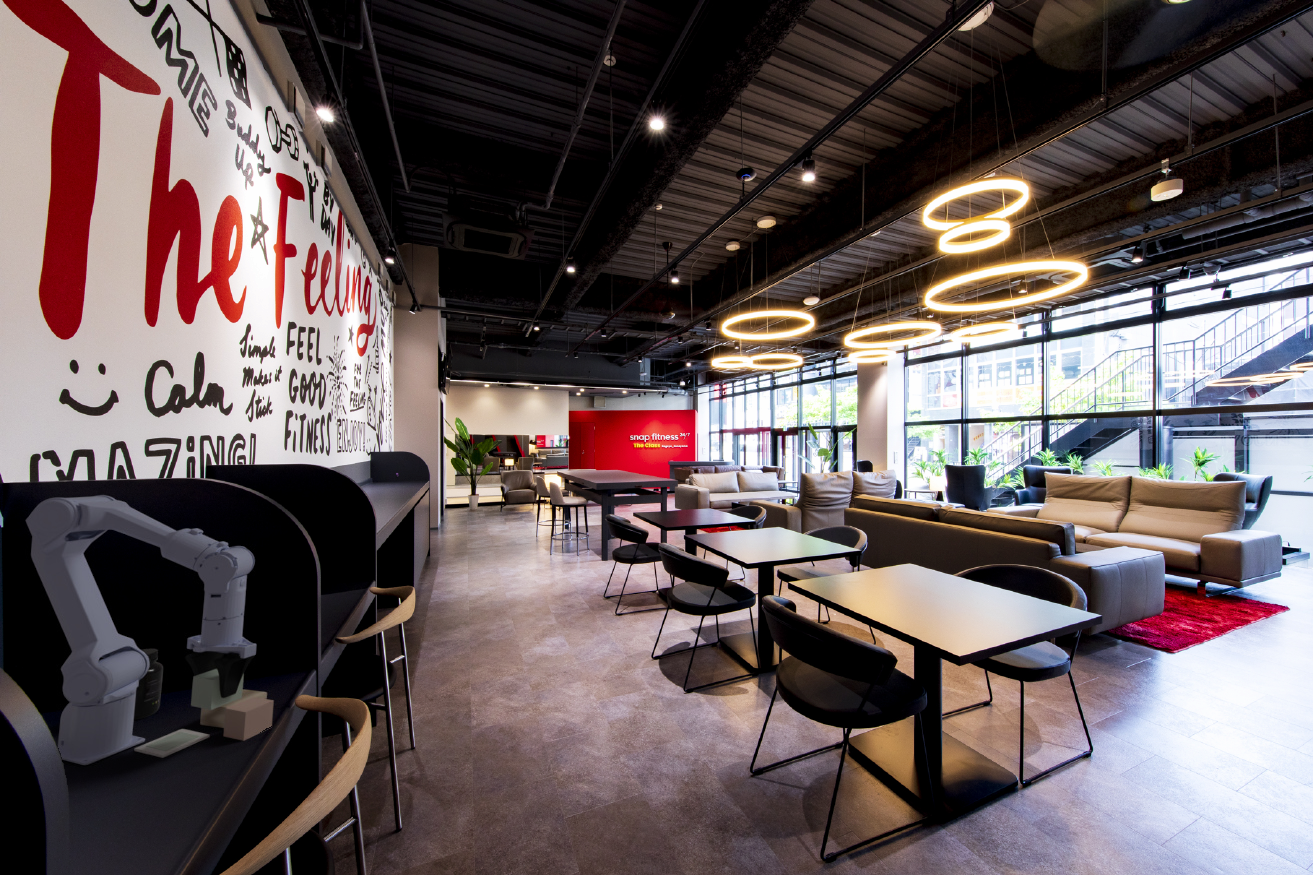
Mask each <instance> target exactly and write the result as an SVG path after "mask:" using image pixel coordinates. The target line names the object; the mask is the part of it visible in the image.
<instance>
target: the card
mask: <svg viewBox="0 0 1313 875" xmlns="http://www.w3.org/2000/svg"><path fill="white" fill-rule="evenodd" d="M208 738H210V734H207V733H203V732H199V731H195V730H191V729H185V728H181V729H178V730H176V731H173V732H171V733H168V734H167V735H163V736H161V737H159V738H155V739H154V740H150V741H149V742H146V743H145V744H142V745H140V746H136V747H134V752H136V753H137V752H138V753H142V754H145V755H151V756H153V757H154V756H155V757H158V758H161V759H163V758H165V757H168V756H170V755H172V754H175V753H176V752H179V751H181V750H183V749H186V748H187V747H191V746H192V745H194V744H196V743H199V742H202V741H204V740H206V739H208Z"/></svg>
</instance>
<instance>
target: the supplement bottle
mask: <svg viewBox="0 0 1313 875" xmlns="http://www.w3.org/2000/svg"><path fill="white" fill-rule="evenodd" d="M141 650H142V651H143V652H144V653H145V654H146V655H147V656H148V658H149V669H148V671H147V673H146V674H145V675H144V676H143V677H142V678H141V679H140V680H139V685H138V687H137V688H136V697H135V708H134V720H133V722H135V721H138V720H142V719H145V718H147V717H150V716H152V715H154V714H155V713H156V712H157V711H158V710H159V709H160V706H161V697H162V696H161V695H162V694H161V693H162V687H163V686H162V684H163V677H164V676H163V675H164V674H163V673H164V666H163V664H162V663H160V662H157V661H158V658H159V656H158V654H159V649H157V648H144V649H141Z"/></svg>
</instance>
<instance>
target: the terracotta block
mask: <svg viewBox="0 0 1313 875" xmlns="http://www.w3.org/2000/svg"><path fill="white" fill-rule="evenodd" d="M274 701H275V700H273V699H263V698H258V697H252V698H250V699H247V700H245V701H242V702H240V703H238V704H235V705H233V706H230V707H228V708H226V710H225V723H224V728H223V737H225V738H230V739H234V740H239V741H244V742H245V741H246V740H249V739H250V738H252V737H254V736H256V735H258V734H261V733H263V732H264V731H263V730H265V729H266V728H269V727H271V726H272V727H273V714H274ZM272 727H271V728H272ZM269 729H270V728H269ZM262 731H263V732H262ZM265 731H266V730H265ZM260 732H261V733H260Z"/></svg>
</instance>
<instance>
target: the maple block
mask: <svg viewBox="0 0 1313 875" xmlns="http://www.w3.org/2000/svg"><path fill="white" fill-rule="evenodd" d="M267 696H268V692H266V691H259V690H252V689H243V690H242V698H240V699H238V700H235V701H233V702H230V703H228V704H225V705H223V706H220V707H217V708H215V709H212V710H209V709H204V708H200V723H199V724H200V725H201V726H209V727H214V728H215V727H216V728H222V729H224V723H225V710H226V708H228V707H230V706H233V705H235V704H238V703H240V702H242V701H245V700H247V699H250V698H252V697H258V698H263V699H267V698H268V697H267Z"/></svg>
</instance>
